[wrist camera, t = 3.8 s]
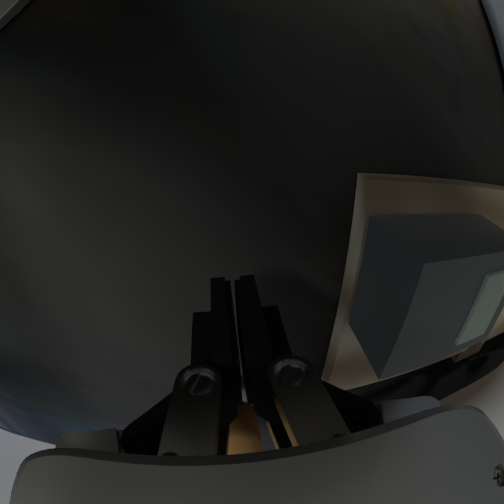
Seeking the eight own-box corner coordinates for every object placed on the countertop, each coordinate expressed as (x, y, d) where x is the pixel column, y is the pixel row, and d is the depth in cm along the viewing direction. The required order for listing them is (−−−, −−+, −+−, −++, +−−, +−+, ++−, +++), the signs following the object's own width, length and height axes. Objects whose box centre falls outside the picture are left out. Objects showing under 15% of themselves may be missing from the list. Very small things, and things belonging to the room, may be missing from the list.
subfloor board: (359, 140, 11) (374, 145, 10) (555, 180, 14) (564, 185, 13) (317, 393, 20) (321, 406, 19) (501, 330, 22) (507, 337, 21)
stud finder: (369, 215, 11) (427, 267, 8) (479, 214, 12) (530, 249, 9) (347, 322, 14) (380, 383, 11) (451, 299, 15) (488, 341, 12)
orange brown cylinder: (190, 376, 17) (191, 475, 11) (251, 371, 18) (269, 469, 12) (199, 406, 19) (203, 490, 13) (252, 402, 20) (267, 485, 13)
